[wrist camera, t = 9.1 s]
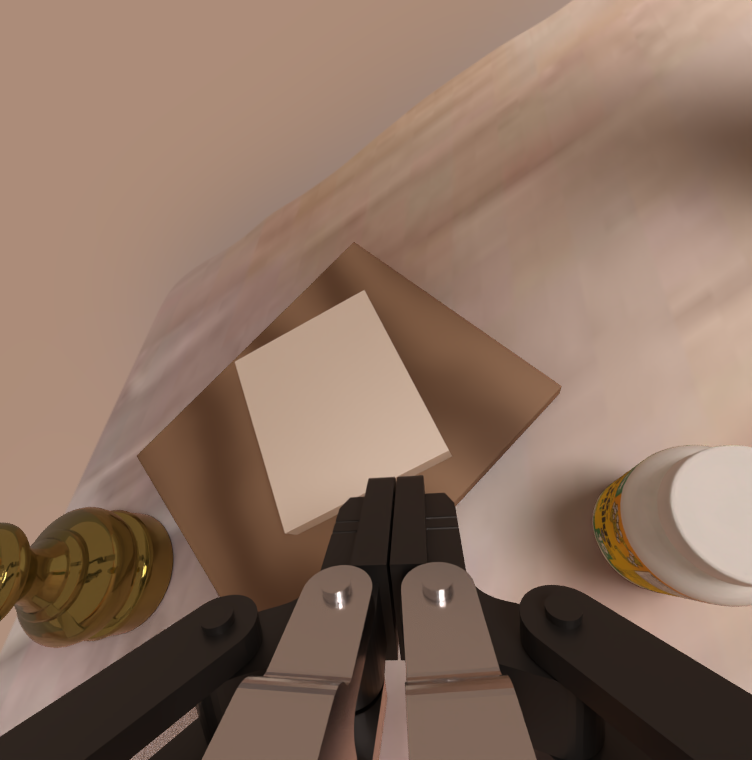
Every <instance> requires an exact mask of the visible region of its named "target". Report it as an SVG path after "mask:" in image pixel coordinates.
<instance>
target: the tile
mask: <svg viewBox="0 0 752 760" xmlns="http://www.w3.org/2000/svg"><path fill="white" fill-rule="evenodd" d="M235 365H236V368H237V372H238V375H239V378H240V382H241V385H242V389H243V392H244V395H245V399H246V402H247V406H248V409H249V412H250V416H251V419H252V423H253V426H254V430H255V433H256V436H257V440H258V443H259V447H260V450H261V453H262V457H263V460H264V464H265V467H266V470H267V474H268V477H269V481H270V484H271V488H272V491H273V494H274V498H275V501H276V505H277V508H278V511H279V515H280V518H281V522H282V525H283V528H284V532H285V534H294V535H298V534H300V533H302V532H304V531H306V530H308V529H310V528H312V527H314V526H316V525H318V524H320V523H322V522H324V521H326V520H328V519H330V518H332V517H333V516H335V515H337V514H338V512H339V509H340V507H341V506H342V505H343V504H344V503H345V502H346V501H347V500H348V499H349V498H350V497H365V492H366V488H367V483H368V479H369V478H380V477H395V478H396V482H397V477H399V476H415V475H416V474H418V473H420V472H422V471H424V470H426V469H428V468H430V467H432V466H434V465H436V464H438V463H440V462H442V461H444V460H446V459H448V458H450V457H452V455H451V453H450V451H449V449H448V447H447V445H446V444H445V442H444V440H443V438H442V436H441V434H440V432H439V430H438V428H437V426H436V425H435V423H434V421H433V419H432V417H431V415H430V413H429V411H428V409H427V407H426V406H425V404H424V402H423V400H422V398H421V396H420V394H419V392H418V390H417V389H416V387H415V385H414V383H413V381H412V379H411V377H410V375H409V373H408V371H407V370H406V368H405V366H404V364H403V362H402V360H401V358H400V356H399V354H398V352H397V351H396V349H395V347H394V345H393V343H392V341H391V339H390V337H389V335H388V334H387V332H386V330H385V328H384V326H383V324H382V322H381V320H380V318H379V316H378V315H377V313H376V311H375V309H374V307H373V305H372V303H371V301H370V299H369V298H368V296H367V294H366V292H365V290H363V291H361V292H360V293H358V294H356V295H354V296H352V297H350V298H349V299H347V300H345V301H343V302H341V303H340V304H338V305H336V306H334V307H332V308H331V309H329V310H327V311H325V312H323V313H322V314H320V315H318V316H316V317H314V318H313V319H311V320H309V321H307V322H305V323H303V324H302V325H300V326H298V327H296V328H294V329H293V330H291V331H289V332H287V333H285V334H284V335H282V336H280V337H278V338H276V339H275V340H273V341H271V342H269V343H267V344H266V345H264V346H262V347H260V348H258V349H257V350H255V351H253V352H251V353H249V354H247V355H246V356H244V357H242V358H240V359H238V360H237V361H235Z"/></svg>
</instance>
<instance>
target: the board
mask: <svg viewBox="0 0 752 760" xmlns="http://www.w3.org/2000/svg"><path fill="white" fill-rule="evenodd" d="M363 290H365V292H366V294H367V296H368V298H369V299H370V301H371V303H372V305H373V307H374V309H375V311H376V313H377V315H378V316H379V318H380V320H381V322H382V324H383V326H384V328H385V330H386V332H387V334H388V335H389V337H390V339H391V341H392V343H393V345H394V347H395V349H396V351H397V352H398V354H399V356H400V358H401V360H402V362H403V364H404V366H405V368H406V370H407V371H408V373H409V375H410V377H411V379H412V381H413V383H414V385H415V387H416V389H417V390H418V392H419V394H420V396H421V398H422V400H423V402H424V404H425V406H426V407H427V409H428V411H429V413H430V415H431V417H432V419H433V421H434V423H435V425H436V426H437V428H438V430H439V432H440V434H441V436H442V438H443V440H444V442H445V444H446V445H447V447H448V449H449V451H450V453H451V455H452V457H450V458H448V459H446V460H444V461H442V462H440V463H438V464H436V465H434V466H432V467H430V468H428V469H426V470H424V471H422V472H420V473H418V474H416V475H415V476H417V475H423V476H424V485H425V494H426V493H445V494H446V495H447V496H448V497H449V498H450V499H451V500H452V501H453V502H454V503H455V506H456V505H457V504H458V503H459V502H460V501H461V500H462V499H463V498H464V497H465V495H466V494H467V493H468V492H469V491H470V490H471V489H472V488H473V487H474V486H475V485H476V483H477V482H478V481H479V480H480V479H481V478H482V477H483V476H484V475H485V474H486V473H487V472H488V470H489V469H490V468H491V467H492V466H493V465H494V464H495V463H496V462H497V461H498V460H499V459H500V457H501V456H502V455H503V454H504V453H505V452H506V451H507V450H508V449H509V448H510V447H511V446H512V444H513V443H514V442H515V441H516V440H517V439H518V438H519V437H520V436H521V435H522V434H523V433H524V431H525V430H526V429H527V428H528V427H529V426H530V425H531V424H532V423H533V422H534V421H535V420H536V418H537V417H538V416H539V415H540V414H541V413H542V412H543V411H544V410H545V409H546V408H547V407H548V405H549V404H550V403H551V402H552V401H553V400H554V399H555V398H556V397H557V396H558V395H559V393H560V390H561V387H562V386H560V385H559V384H558V383H556V382H555V381H553V380H552V379H550V378H549V377H548V376H546V375H545V374H543V373H542V372H540V371H539V370H537V369H536V368H535V367H533V366H532V365H530V364H529V363H527V362H526V361H524V360H523V359H522V358H520V357H519V356H517V355H516V354H514V353H513V352H512V351H510V350H509V349H507V348H506V347H504V346H503V345H501V344H500V343H499V342H497V341H496V340H494V339H493V338H491V337H490V336H488V335H487V334H486V333H484V332H483V331H481V330H480V329H478V328H477V327H476V326H474V325H473V324H471V323H470V322H468V321H467V320H465V319H464V318H463V317H461V316H460V315H458V314H457V313H455V312H454V311H452V310H451V309H450V308H448V307H447V306H445V305H444V304H442V303H441V302H440V301H438V300H437V299H435V298H434V297H432V296H431V295H429V294H428V293H427V292H425V291H424V290H422V289H421V288H419V287H418V286H417V285H415V284H414V283H412V282H411V281H409V280H408V279H406V278H405V277H404V276H402V275H401V274H399V273H398V272H396V271H395V270H393V269H392V268H391V267H389V266H388V265H386V264H385V263H383V262H382V261H381V260H379V259H378V258H376V257H375V256H373V255H372V254H370V253H369V252H368V251H366V250H365V249H363V248H362V247H360V246H359V245H357V244H356V243H355V242H354V243H353V244H352V245H351V246H350V247H349V248H348V249H346V250H345V251H344V252H343V253H342V254H341V255H340V256H339V257H338V258H337V259H336V260H335V261H334V262H333V263H332V264H331V265H330V266H329V267H328V268H327V269H326V270H325V271H324V272H323V273H322V274H321V275H320V276H319V277H318V278H317V279H316V280H315V281H314V282H313V283H312V284H311V285H310V286H309V287H308V288H307V289H306V290H305V291H304V292H303V293H302V294H301V295H300V296H299V297H298V298H297V299H296V300H295V301H294V302H293V303H292V304H291V305H290V306H289V307H288V308H286V309H285V310H284V311H283V312H282V313H281V314H280V315H279V316H278V317H277V318H276V319H275V320H274V321H273V322H272V323H271V324H270V325H269V326H268V327H267V328H266V329H265V330H264V331H263V332H262V333H261V334H260V335H259V336H258V337H257V338H256V339H255V340H254V341H253V342H252V343H251V344H250V345H249V346H248V347H247V348H246V349H245V350H244V351H243V352H242V353H241V354H240V355H239V356H238V357H237V358H236V359H235V360H234V361H233V362H232V363H231V364H230V365H229V366H228V367H227V368H225V369H224V370H223V371H222V372H221V373H220V374H219V375H218V376H217V377H216V378H215V379H214V380H213V381H212V382H211V383H210V384H209V385H208V386H207V387H206V388H205V389H204V390H203V391H202V392H201V393H200V394H199V395H198V396H197V397H196V398H195V399H194V400H193V401H192V402H191V403H190V404H189V405H188V406H187V407H186V408H185V409H184V410H183V411H182V412H181V413H180V414H179V415H178V416H177V417H176V418H175V419H174V420H173V421H172V422H171V423H170V424H169V425H168V426H167V427H165V428H164V429H163V430H162V431H161V432H160V433H159V434H158V435H157V436H156V437H155V438H154V439H153V440H152V441H151V442H150V443H149V444H148V445H147V446H146V447H145V448H144V449H143V450H142V451H141V452H140V453H139V454H138V455H137V457H138V459H139V461H140V462H141V464H142V466H143V467H144V469H145V471H146V473H147V474H148V476H149V478H150V479H151V481H152V483H153V484H154V486H155V488H156V489H157V491H158V493H159V495H160V496H161V498H162V500H163V501H164V503H165V505H166V506H167V508H168V510H169V511H170V513H171V515H172V517H173V518H174V520H175V522H176V523H177V525H178V527H179V528H180V530H181V532H182V533H183V535H184V537H185V539H186V540H187V542H188V544H189V545H190V547H191V549H192V550H193V552H194V554H195V555H196V557H197V559H198V561H199V562H200V564H201V566H202V567H203V569H204V571H205V572H206V574H207V576H208V577H209V579H210V581H211V583H212V584H213V586H214V588H215V589H216V591H217V593H218V594H219V596H220V597H222V596H227V595H243V596H246V597H249V598H250V599H252V600H253V601H254V602H255V604H256V606H257V610H258V612H259V611H262V610H266V609H269V608H273V607H277V606H280V605H283V604H286V603H289V602H291V601H293V600H295V599H297V598H299V597H300V594H301V592H302V590H303V588H304V586H305V584H306V583H307V582H308V580H309V579H310V578H312V577H313V576H314V575H315V574H317V573H318V572H320V570H321V567H322V564H323V560H324V557H325V554H326V551H327V547H328V544H329V541H330V538H331V534H332V533H333V532H332V531H333V528H334V525H335V523H336V518H337V515H338V514H337V515H335V516H333V517H332V518H330V519H328V520H326V521H324V522H322V523H320V524H318V525H316V526H314V527H312V528H310V529H308V530H306V531H304V532H302V533H300V534H298V535H294V534H285V532H284V528H283V525H282V522H281V518H280V515H279V511H278V508H277V505H276V501H275V498H274V494H273V491H272V488H271V484H270V481H269V477H268V474H267V470H266V467H265V464H264V460H263V457H262V453H261V450H260V447H259V443H258V440H257V436H256V433H255V430H254V426H253V423H252V419H251V416H250V412H249V409H248V406H247V402H246V399H245V395H244V392H243V389H242V385H241V382H240V378H239V375H238V372H237V368H236V365H235V361H237V360H238V359H240V358H242V357H244V356H246V355H247V354H249V353H251V352H253V351H255V350H257V349H258V348H260V347H262V346H264V345H266V344H267V343H269V342H271V341H273V340H275V339H276V338H278V337H280V336H282V335H284V334H285V333H287V332H289V331H291V330H293V329H294V328H296V327H298V326H300V325H302V324H303V323H305V322H307V321H309V320H311V319H313V318H314V317H316V316H318V315H320V314H322V313H323V312H325V311H327V310H329V309H331V308H332V307H334V306H336V305H338V304H340V303H341V302H343V301H345V300H347V299H349V298H350V297H352V296H354V295H356V294H358V293H360V292H361V291H363Z"/></svg>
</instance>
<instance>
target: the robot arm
mask: <svg viewBox="0 0 752 760" xmlns="http://www.w3.org/2000/svg"><path fill="white" fill-rule="evenodd" d="M332 532H333V533H332V534H331V538H330V541H329V544H328V547H327V551H326V554H325V557H324V560H323V564H322V567H321V570H320V572H318V573H317V574H315V575H314V576H313V577H312V578H310V579H309V580H308V582H307V583H306V584H305V586H304V588H303V590H302V592H301V594H300V597H299V598H297V599H295V600H293V601H291V602H289V603H286V604H283V605H280V606H277V607H273V608H269V609H266V610H262V611H259V612H258V610H257V606H256V604H255V602H254V601H253V600H252V599H250V598H249V597H246V596H243V595H227V596H222V597H219V598H216V599H214V600H211V601H209V602H207V603H206V604H204V605H202V606H201V607H199V608H198V609H196V610H194V611H193V612H191V613H190V614H188V615H187V616H185V617H184V618H182V619H181V620H179V621H178V622H176V623H174V624H173V625H171V626H170V627H168V628H167V629H165V630H164V631H162V632H161V633H159V634H158V635H156V636H154V637H153V638H151V639H150V640H148V641H147V642H145V643H144V644H142V645H141V646H139V647H138V648H136V649H134V650H133V651H131V652H130V653H128V654H127V655H125V656H124V657H122V658H121V659H119V660H118V661H116V662H114V663H113V664H111V665H110V666H108V667H107V668H105V669H104V670H102V671H101V672H99V673H98V674H96V675H94V676H93V677H91V678H90V679H88V680H87V681H85V682H84V683H82V684H81V685H79V686H78V687H76V688H74V689H73V690H71V691H70V692H68V693H67V694H65V695H64V696H62V697H61V698H59V699H58V700H56V701H54V702H53V703H51V704H50V705H48V706H47V707H45V708H44V709H42V710H41V711H39V712H38V713H36V714H34V715H33V716H31V717H30V718H28V719H27V720H25V721H24V722H22V723H21V724H19V725H18V726H16V727H14V728H13V729H11V730H10V731H8V732H7V733H5V734H4V735H2V736H1V737H0V760H130V759H131V758H132V757H133V756H134V755H136V754H137V753H138V752H139V751H141V750H142V749H143V748H144V747H146V746H147V745H148V744H149V743H150V742H152V741H153V740H154V739H155V738H157V737H158V736H159V735H160V734H162V733H163V732H164V731H165V730H166V729H168V728H169V727H170V726H171V725H173V724H174V723H175V722H176V721H178V720H179V719H180V718H181V717H182V716H184V715H185V714H186V713H187V712H189V711H190V710H191V709H192V708H194V707H195V706H196V709H197V713H198V716H199V718H197V719H196V720H195V721H194V722H193V723H191V724H190V725H189V726H188V727H187V728H185V729H184V730H183V731H182V732H181V733H180V734H178V735H177V736H176V737H175V738H174V739H172V740H171V741H170V742H169V743H168V744H166V745H165V746H164V747H163V748H162V749H160V750H159V751H158V752H157V753H156V754H154V755H153V756H152V757H151V758H150V759H148V760H379V755H380V748H381V740H382V733H383V726H384V718H385V711H386V704H387V692H386V684H385V677H384V673H385V660H398V645H399V647H400V656H401V660H405V662H406V680H407V682H405V694H406V713H407V731H408V749H409V760H752V695H751V694H750V693H748V692H746V691H745V690H743V689H741V688H740V687H738V686H736V685H735V684H733V683H732V682H730V681H728V680H727V679H725V678H723V677H722V676H720V675H718V674H717V673H715V672H713V671H712V670H710V669H708V668H707V667H705V666H703V665H702V664H700V663H698V662H697V661H695V660H694V659H692V658H690V657H689V656H687V655H685V654H684V653H682V652H680V651H679V650H677V649H675V648H674V647H672V646H670V645H669V644H667V643H665V642H664V641H662V640H660V639H659V638H657V637H655V636H654V635H652V634H651V633H649V632H647V631H646V630H644V629H642V628H641V627H639V626H637V625H636V624H634V623H632V622H631V621H629V620H627V619H626V618H624V617H622V616H621V615H619V614H617V613H616V612H614V611H613V610H611V609H609V608H608V607H606V606H604V605H603V604H601V603H599V602H598V601H596V600H594V599H593V598H591V597H589V596H588V595H586V594H584V593H582V592H580V591H578V590H575V589H572V588H569V587H565V586H559V585H545V586H540V587H537V588H534V589H532V590H530V591H529V592H527V593H526V594H525V595H524V597H523V598H522V600H521V602H520V604H517V603H513V602H508V601H504V600H500V599H497V598H494V597H492V596H489V595H487V594H485V593H484V592H482V591H481V590H479V589H478V588H477V587H476V586H475V584H474V582H473V579H472V578H471V576H470V575H469V574H468V573H467V572H466V568H465V562H464V557H463V551H462V545H461V539H460V533H459V528H458V521H457V515H456V509H455V503H454V502H453V501H452V500H451V499H450V498H449V497H448V496H447V495H446V494H445V493H426V494H425V485H424V476H423V475H417V476H399V477H397V482H396V478H395V477H380V478H369V479H368V483H367V488H366V492H365V497H350V498H349V499H348V500H347V501H346V502H345V503H344V504H343V505H342V506H341V507H340V509H339V512H338V515H337V518H336V523H335V525H334V528H333V531H332Z"/></svg>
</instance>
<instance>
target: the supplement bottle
mask: <svg viewBox="0 0 752 760" xmlns="http://www.w3.org/2000/svg"><path fill="white" fill-rule="evenodd" d="M592 526H593V532H594V535H595V538H596V541H597V543H598V546H599V548H600V550H601V552H602V554H603V556H604V557H605V559H606V560H607V562H608V563H609V564H610V565H611V567H612V568H613V569H614V570H615V571H617V572H618V573H619V574H620V575H621V576H623V577H624V578H625V579H627V580H628V581H630V582H632V583H634V584H636V585H638V586H640V587H642V588H645V589H648V590H651V591H655V592H659V593H663V594H668V595H672V596H677V597H682V598H686V599H691V600H695V601H700V602H705V603H709V604H715V605H722V606H732V607H739V606H751V605H752V447H748V446H742V445H723V446H715V447H711V446H702V445H685V446H678V447H672V448H669V449H665V450H662V451H659V452H657V453H655V454H653V455H651V456H649V457H648V458H646V459H645V460H643V461H642V462H640V463H639V464H638V465H636V466H635V467H634V468H632V469H631V470H630V471H628V472H627V473H625V474H624V475H623V476H622V477H620V478H619V479H617V480H616V481H614V482H613V483H612V484H610V485H609V486H608V487H607V488H606V489H605V490H604V491H603V492H602V493H601V494H600V496H599V498H598V499H597V502H596V504H595V507H594V510H593V516H592Z"/></svg>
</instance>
